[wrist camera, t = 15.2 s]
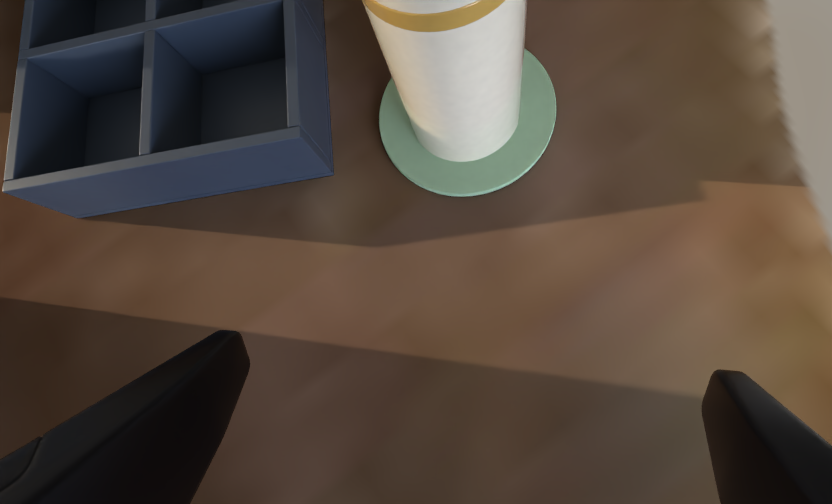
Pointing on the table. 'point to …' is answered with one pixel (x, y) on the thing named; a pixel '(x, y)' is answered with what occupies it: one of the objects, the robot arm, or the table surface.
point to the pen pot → (455, 70)
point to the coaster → (481, 172)
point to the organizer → (166, 101)
